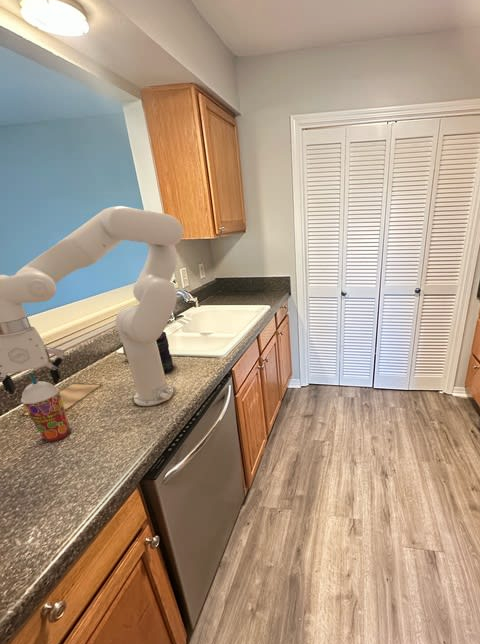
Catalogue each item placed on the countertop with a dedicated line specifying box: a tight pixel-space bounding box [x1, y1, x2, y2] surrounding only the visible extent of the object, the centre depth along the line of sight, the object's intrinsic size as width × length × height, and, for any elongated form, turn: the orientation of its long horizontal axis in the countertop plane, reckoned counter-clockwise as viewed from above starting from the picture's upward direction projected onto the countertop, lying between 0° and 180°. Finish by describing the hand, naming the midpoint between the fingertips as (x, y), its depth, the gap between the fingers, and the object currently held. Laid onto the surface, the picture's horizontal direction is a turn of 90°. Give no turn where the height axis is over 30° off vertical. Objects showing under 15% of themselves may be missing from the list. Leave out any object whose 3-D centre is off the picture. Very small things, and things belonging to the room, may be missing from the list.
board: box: [23, 383, 101, 416], centre depth 112 cm, size 20×12×1 cm, turn 171°
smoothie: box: [20, 373, 71, 442], centre depth 89 cm, size 8×8×20 cm
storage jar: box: [156, 331, 174, 375], centre depth 127 cm, size 10×10×15 cm
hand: (35, 386), depth 87 cm, fingers open, 9 cm apart
